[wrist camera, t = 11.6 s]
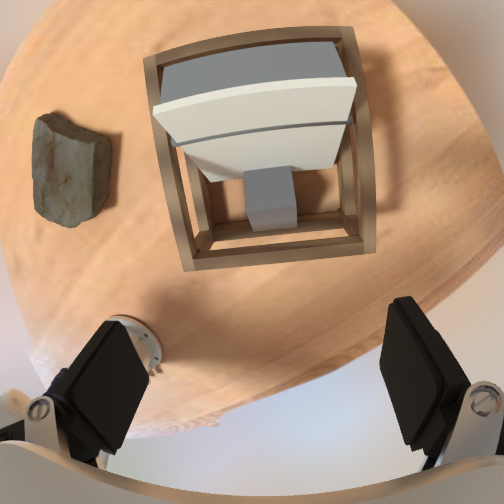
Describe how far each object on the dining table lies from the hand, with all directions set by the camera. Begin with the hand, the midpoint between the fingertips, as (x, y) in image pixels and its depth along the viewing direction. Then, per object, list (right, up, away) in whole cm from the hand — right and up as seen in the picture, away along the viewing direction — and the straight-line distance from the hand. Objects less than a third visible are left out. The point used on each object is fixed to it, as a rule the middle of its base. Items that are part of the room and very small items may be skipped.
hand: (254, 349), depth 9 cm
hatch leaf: (+1, +17, +15) cm, 23 cm away
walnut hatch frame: (+2, +16, +22) cm, 27 cm away
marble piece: (-27, +16, +25) cm, 40 cm away
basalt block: (+2, +11, +22) cm, 25 cm away
